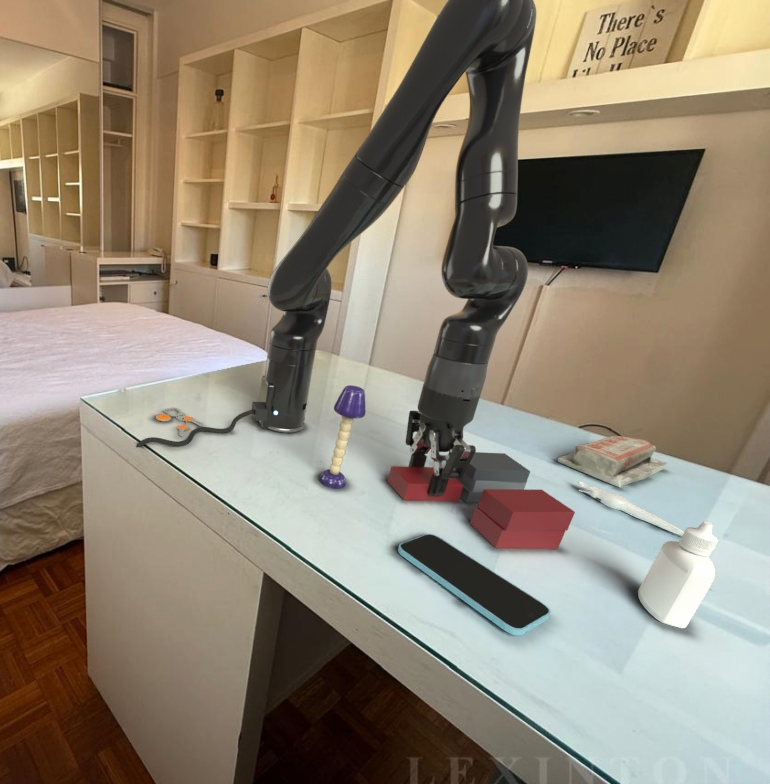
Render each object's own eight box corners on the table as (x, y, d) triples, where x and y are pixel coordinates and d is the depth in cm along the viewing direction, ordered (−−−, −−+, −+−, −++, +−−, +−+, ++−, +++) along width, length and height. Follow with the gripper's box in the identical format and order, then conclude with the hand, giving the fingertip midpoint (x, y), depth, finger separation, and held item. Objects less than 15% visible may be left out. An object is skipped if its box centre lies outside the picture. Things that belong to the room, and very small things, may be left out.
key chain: (149, 413, 96) (149, 409, 96) (178, 408, 100) (179, 404, 100) (178, 437, 86) (178, 433, 86) (210, 431, 90) (210, 427, 89)
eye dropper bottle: (629, 608, 52) (675, 521, 48) (639, 587, 56) (683, 504, 51) (683, 635, 49) (737, 544, 45) (690, 611, 52) (741, 525, 48)
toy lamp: (349, 479, 76) (369, 385, 70) (349, 493, 72) (370, 395, 66) (319, 473, 77) (337, 380, 71) (318, 486, 73) (336, 389, 67)
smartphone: (431, 532, 62) (555, 610, 49) (429, 538, 62) (552, 618, 50) (395, 545, 59) (517, 632, 46) (393, 552, 59) (514, 641, 47)
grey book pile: (466, 503, 71) (477, 469, 69) (442, 481, 77) (452, 450, 75) (522, 504, 72) (534, 471, 70) (494, 482, 78) (505, 451, 76)
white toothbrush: (570, 490, 77) (574, 480, 76) (580, 487, 78) (584, 478, 77) (687, 546, 64) (693, 535, 64) (697, 542, 65) (703, 531, 65)
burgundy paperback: (403, 500, 71) (408, 483, 70) (387, 481, 76) (391, 465, 75) (458, 501, 71) (463, 485, 70) (438, 483, 76) (443, 467, 75)
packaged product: (632, 465, 76) (564, 440, 85) (620, 490, 78) (555, 463, 86) (676, 447, 84) (610, 426, 92) (665, 470, 86) (601, 447, 94)
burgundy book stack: (496, 549, 61) (510, 512, 59) (469, 523, 66) (481, 487, 64) (561, 550, 61) (577, 513, 59) (529, 524, 67) (542, 489, 65)
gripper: (403, 370, 74) (381, 462, 80) (457, 403, 60) (426, 511, 66) (447, 372, 74) (422, 463, 80) (511, 405, 61) (475, 511, 67)
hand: (424, 484), depth 73 cm, fingers closed on burgundy paperback, 5 cm apart
